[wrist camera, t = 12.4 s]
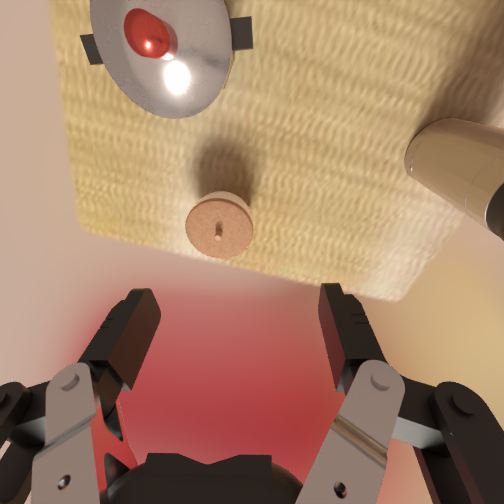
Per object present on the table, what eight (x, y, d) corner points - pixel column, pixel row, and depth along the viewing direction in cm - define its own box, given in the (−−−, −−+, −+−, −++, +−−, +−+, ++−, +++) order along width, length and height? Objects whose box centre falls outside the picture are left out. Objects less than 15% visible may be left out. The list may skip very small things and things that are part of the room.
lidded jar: (205, 238, 48) (194, 268, 40) (188, 186, 42) (171, 211, 34) (258, 231, 47) (257, 261, 39) (248, 177, 41) (245, 200, 33)
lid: (224, -67, 21) (211, -118, 15) (238, 113, 29) (233, 122, 23) (74, -52, 22) (11, -94, 16) (128, 119, 30) (98, 129, 24)
